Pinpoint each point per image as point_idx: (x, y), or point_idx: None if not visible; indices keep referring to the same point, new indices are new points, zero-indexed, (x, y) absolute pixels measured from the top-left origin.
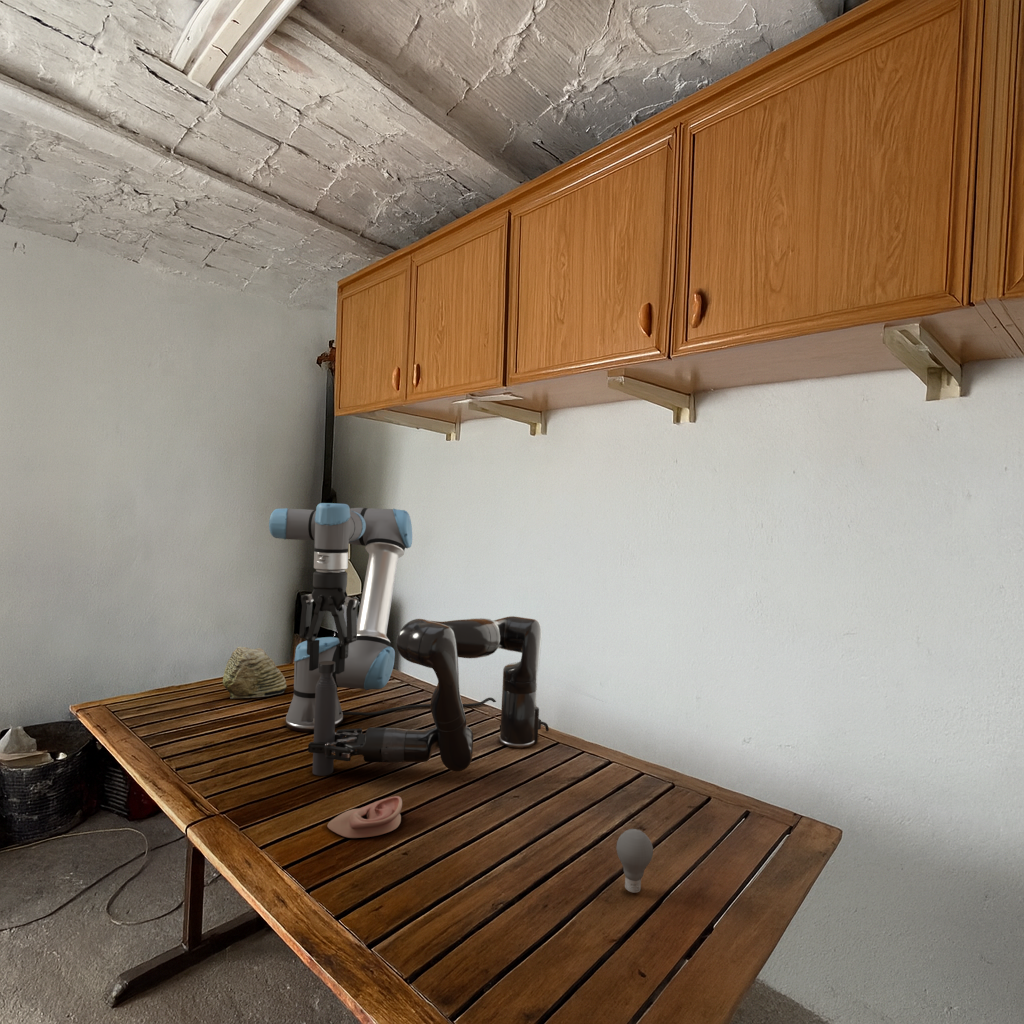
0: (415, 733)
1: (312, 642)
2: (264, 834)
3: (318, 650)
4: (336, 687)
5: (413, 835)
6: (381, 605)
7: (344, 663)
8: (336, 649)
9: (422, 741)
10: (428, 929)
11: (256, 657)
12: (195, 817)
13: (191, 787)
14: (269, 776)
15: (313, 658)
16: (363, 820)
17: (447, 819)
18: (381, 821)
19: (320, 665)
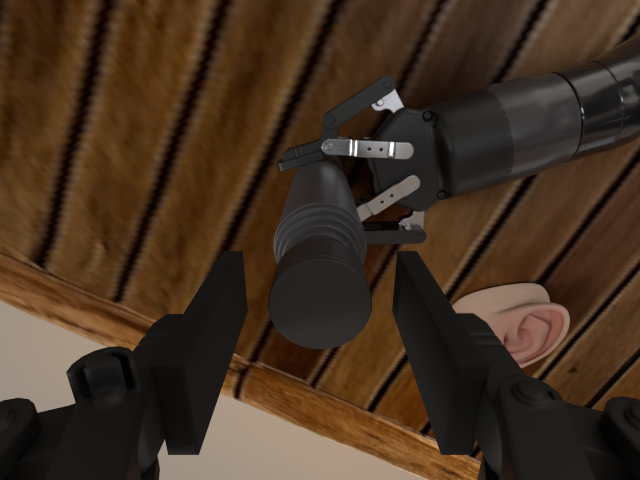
0: (612, 128)
1: (191, 452)
2: (354, 387)
3: (214, 316)
4: (362, 226)
5: (577, 329)
6: None
7: (429, 274)
8: (431, 422)
9: (626, 141)
10: None
11: None
12: (226, 380)
13: (134, 312)
14: (229, 230)
15: (232, 343)
16: None
17: (630, 270)
18: (538, 359)
19: (303, 343)
